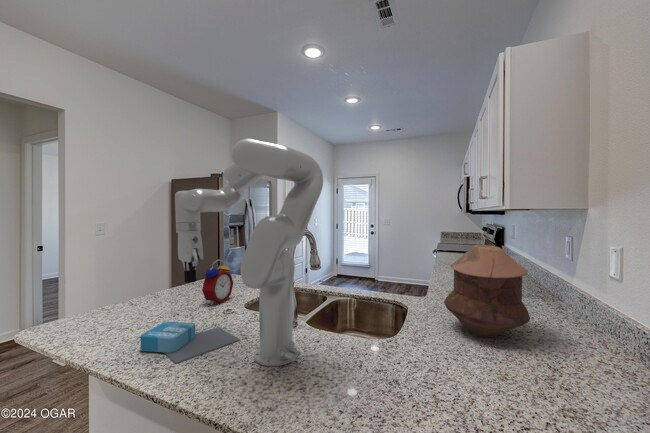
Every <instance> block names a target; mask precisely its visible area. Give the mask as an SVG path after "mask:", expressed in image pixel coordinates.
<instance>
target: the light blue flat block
mask: <svg viewBox="0 0 650 433" xmlns="http://www.w3.org/2000/svg"><path fill="white" fill-rule="evenodd" d="M195 334H196V324H195V323H194V322H185V321H184V322H179V321H165V322H162V323H159V324H158V325H157V326H154V327H152V328H150V329H149V330H147V331H145V332H143V333H141V334H140V350H141V351H142V352H153V353H155V352H156V353H164V352H165V353H172V352H176V351H177V350H179V349H180V348H181V347H183V346H184V345H186V344H187V343H188V342H190V341H191V340H192V339H194V338H195ZM165 353H164V354H165Z"/></svg>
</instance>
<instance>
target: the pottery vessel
mask: <svg viewBox="0 0 650 433" xmlns="http://www.w3.org/2000/svg"><path fill="white" fill-rule="evenodd" d="M449 267H451V269H453V290H452V291H451V292H450V293H448V295H447V296H446V297H445V299H444V302H443V303H444V306H445V308H446V309H447V311H449V312H450V313H451V314H452V315H454V317H455V318H457V320H458V321H459V322H460V323H461V324H463V325H464V327H465V328H466V329H467V331H468V332H469V333H471V334H473V335H475V336H478V337H483V338H495V337H497V336H499V334H502V333H504V332H507V331H510V330H513V329H516V328H519V327H521V326H522V327H523V326H524V325H527V324H528V323H529V322H530V318H531V316H530V313H529V311H528V309H527V306H526V305H525V304H524V302H523V301H522V299H523V277H525V276H526V275H527V274H528V269H527V268H525V267H523V266H522V265H521V264H519V263H518V262H517V261H516V260H514V259H513V258H512V257H511V256H510V255H509V254H508V253H507V252H506V251H504V250H503V248H501V247H499V246H497V245H487V244H475V245H473V246H472V247H471V248H469V249H468V250H467V251H466V252H465V253H464V254H463V255H462V256H460V257H459V258H458V259H457V260H456V261H454V262H453V263H451V264H450V265H449Z"/></svg>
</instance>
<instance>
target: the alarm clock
mask: <svg viewBox="0 0 650 433" xmlns="http://www.w3.org/2000/svg"><path fill="white" fill-rule="evenodd" d="M218 261H219V262H222V265H218V267H217V268H216V267H214V264H215V263H216V262H218ZM204 277H205V278H204V280H203V281H202V283H203V284H202V289H201V291H202V294H203V296H204V300H205V301H208V302H209V301H210V306H213V305H214V303H225V302H226V301H227V300H228V299H229V297H230V296H231V295H232V292H233V286H234V280H233V277H232V273H231V269H230V266H226V263H225V264H224V260H223V259H217V260H215V261H214V262H212V267H211V268H209V269H207V270H206V272H205V275H204Z"/></svg>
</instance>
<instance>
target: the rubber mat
mask: <svg viewBox="0 0 650 433" xmlns="http://www.w3.org/2000/svg"><path fill="white" fill-rule="evenodd" d="M240 341H241V339H240V338H239V337H237V336H235V335H234V334H232V333H230V332H228V331H226V330H225V329H224V328H221V327H220V326H217V327H214V328H211V329H207V330H204V331H201V332H199V333H195V338H194V339H192V340H191V341H190V342H188V343H187V344H186V345H184V346H183V347H181V348H180V349H179V350H177V351H176V352H172V353H165V352H163V353H164V355H165V356H167V357H168V358H169V360H171V361H172V363H174V365H177V364H180V363H183V362H185V361H188V360H190V359H194V358H196V357H199V356H202V355H204V354H207V353H209V352H213V351H215V350H219V349H220V348H223V346H224V347H226V346H229V345H231V344H234V343H237V342H240Z"/></svg>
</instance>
